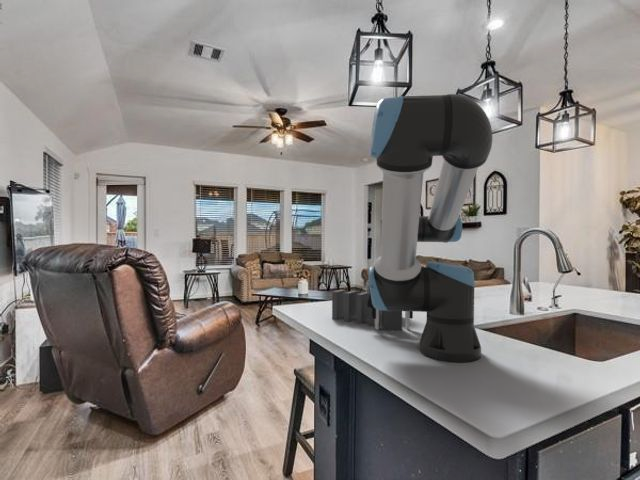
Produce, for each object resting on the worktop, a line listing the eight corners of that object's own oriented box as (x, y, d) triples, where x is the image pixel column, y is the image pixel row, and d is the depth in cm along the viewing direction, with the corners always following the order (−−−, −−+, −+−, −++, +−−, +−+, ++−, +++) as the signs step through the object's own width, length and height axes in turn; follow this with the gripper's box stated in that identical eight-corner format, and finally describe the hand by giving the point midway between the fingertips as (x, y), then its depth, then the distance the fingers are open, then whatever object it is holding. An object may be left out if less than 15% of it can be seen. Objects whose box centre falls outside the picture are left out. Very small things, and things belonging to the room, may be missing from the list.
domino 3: (369, 320, 130) (369, 292, 130) (361, 324, 125) (361, 294, 125) (364, 319, 131) (364, 291, 131) (356, 323, 126) (356, 294, 126)
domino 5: (402, 330, 117) (402, 299, 117) (383, 330, 117) (383, 299, 117) (400, 328, 119) (400, 297, 119) (382, 328, 119) (382, 298, 119)
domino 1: (345, 316, 136) (345, 289, 135) (336, 319, 131) (336, 292, 131) (341, 316, 137) (341, 289, 137) (332, 319, 132) (332, 291, 132)
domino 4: (382, 322, 127) (382, 293, 127) (374, 326, 122) (374, 296, 122) (377, 321, 128) (377, 293, 128) (369, 325, 123) (369, 295, 123)
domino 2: (357, 318, 133) (357, 291, 133) (348, 321, 128) (348, 293, 128) (352, 317, 134) (352, 290, 134) (343, 321, 129) (344, 292, 129)
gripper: (422, 258, 122) (422, 325, 122) (356, 258, 121) (356, 325, 122) (430, 260, 114) (429, 331, 115) (359, 260, 114) (359, 331, 114)
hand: (392, 328), depth 118 cm, fingers open, 9 cm apart
